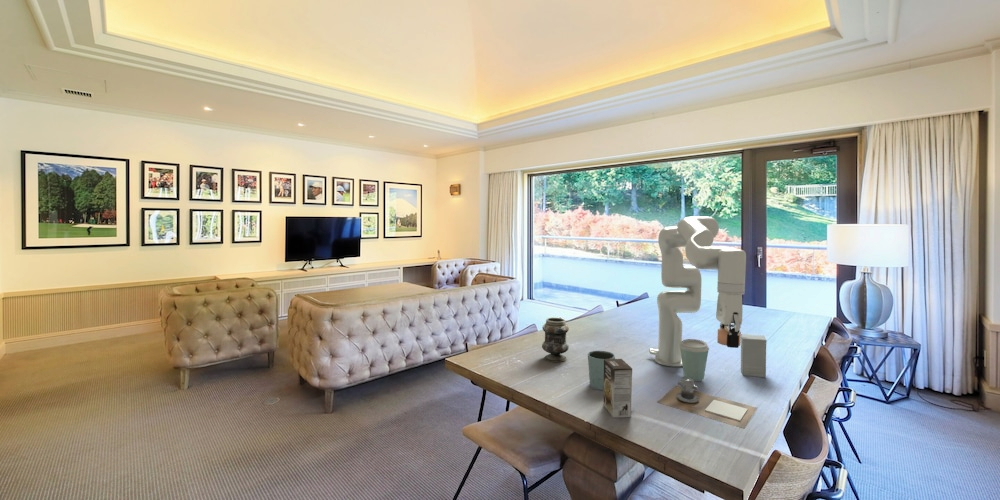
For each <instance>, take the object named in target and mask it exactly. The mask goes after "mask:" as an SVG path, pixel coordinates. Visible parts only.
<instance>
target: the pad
mask: <svg viewBox="0 0 1000 500" xmlns="http://www.w3.org/2000/svg"><path fill="white" fill-rule="evenodd" d="M747 410H748V409H746V408H743V407H739V406H735V405H732V404H728V403H724V402H721V401H717V400H713V401H712V402H711V403H710V405H709V406H708V407H707V408H706V409H705V411H706V412H710V413H713V414H716V415H720V416H723V417H727V418H730V419H733V420H737V421H741V419H742V418H743V416H744V415H745V413H746V412H747Z"/></svg>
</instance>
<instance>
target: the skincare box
mask: <svg viewBox="0 0 1000 500" xmlns="http://www.w3.org/2000/svg"><path fill="white" fill-rule="evenodd" d="M767 342H768V341H767V339H766V337H765V336H764V335H760V334H748V333H747V334H746V333H741V343H740V371H741V374H742V376H746V377H756V378H766V377H767V376H766V375H767Z"/></svg>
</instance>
